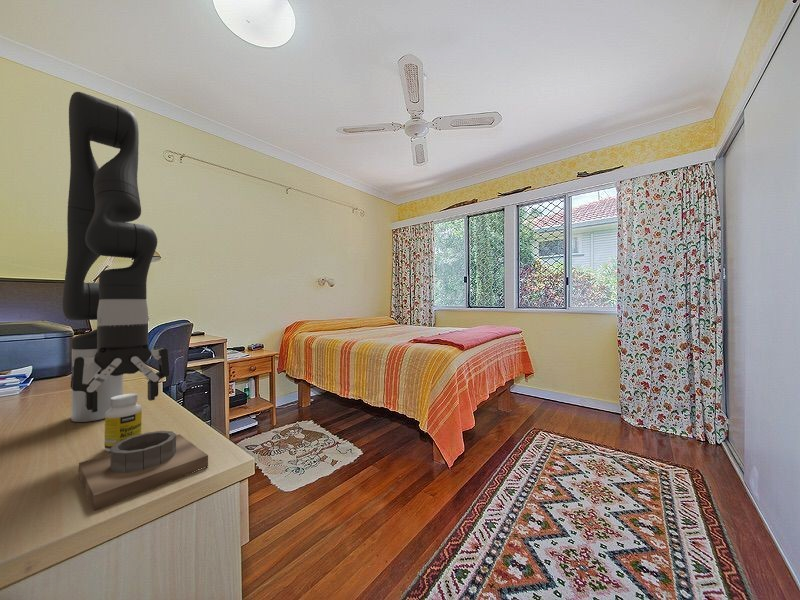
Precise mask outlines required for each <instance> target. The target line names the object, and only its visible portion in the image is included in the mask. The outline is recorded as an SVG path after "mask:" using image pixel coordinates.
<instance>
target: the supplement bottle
mask: <svg viewBox="0 0 800 600" xmlns="http://www.w3.org/2000/svg"><path fill="white" fill-rule="evenodd" d="M137 402H138V394H137V393H123V395H118V396H114V397H112V398H111V399H110V406H112V408H111V409H109V410H108V411H107V412H106V413H105V418H104V451H106V452H110V448H111V447H113V446H114V445H115V444H116V443H117V442H120V441H122V440H124V439H127V438H129V437H132V436H136V435H139V434H142V418H143V417H142V415H143V412H142V411H143V410H142V406H141V405H140V404H137Z"/></svg>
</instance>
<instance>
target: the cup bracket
mask: <svg viewBox="0 0 800 600" xmlns="http://www.w3.org/2000/svg"><path fill="white" fill-rule="evenodd" d="M206 466H208V467H209V454H207V453H206V452H205V451H204V450H202V449H200V448H199V447H197V445H195V444H194V443H192V442H191V441H189V440H188V439H187V438H186V437H184V436H183V435H181V434H177V433H175V432H174V431H172V430H171V431H170V430H168V431H167V430H158V431H157V430H156V431H155V430H154V431H148V432H144V433H143V432H142V433H141V434H139V435H136V436H132V437H129V438H127V439H124V440H122V441H120V442H117V443H116V444H115V445H114V446H113V447H111V448H110V453H109V454H106V455H102V456H100V457H95V458H92V459H88V460H85V461H82V462H79V463H78V478H79V479H80V483H82V486H83V488H84V491H85V493H86V495H87V497H88V500H89V502H90V505H91V507H92V509H93V511H96V510H99V509H102V508H105V507H107V506H109V505H113V504H115V503H118V502H120V501H122V500H126V499H127V498H130V497H133V496H135V495H138V494H141V493H144V492H146V491H149V490H152V489H154V488H157V487H159V486H162V485H165V484H168V483H170V482H173V481H175V480H177V479H178V480H179V479H180V478H183V477H185V475H186V476H188V475H190V473H191V474H193V473H192V472H194V471H196V470H198V469H201V468H203V467H206ZM201 470H202V469H201ZM196 472H197V471H196ZM194 473H195V472H194ZM187 474H188V475H187Z"/></svg>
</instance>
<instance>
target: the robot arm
mask: <svg viewBox="0 0 800 600" xmlns="http://www.w3.org/2000/svg"><path fill="white" fill-rule="evenodd" d="M68 129H69V130H68V132H69V134H68V135H69V155H70V156H69V157H70V158H69V159H70V163H69V164H70V169H69V170H70V171H69V172H70V174H69V187H68V199H67V200H68V201H67V215H66V216H67V218H66V219H67V221H66V223H67V224H66V225H67V229H66V231H67V256H66V266H65V267H66V268H65V275H64V276H65V277H64V284H63V292H62V293H63V294H62V311H63V315H64V317H65V318H66V319H67V320H69V321H96V320H97V321H96V323H97V324H96V327H97V328H96V329H93V330H91V331H89V332H85V333H82V334H79V335H76V336H74V337H73V338H72V339H71V374H70V375H71V378H70V390H71V405H70V406H71V412H70V413H71V414H70V415H71V418H70V420H71V421H72V422H75V423H85V422H93V421H98V420H103V419H104V420H105V413H106V412H107V411H108V410H109V409H111V408H112V406H110V399H111V398H112V397H114V396H118V395H123V394H124V375H125V374H127V375H131V374H132V375H133V374H136V373H137V372H140V373H141V374H142V375H144V377H146V378H147V379H148V381H147V399H148V401H155V400H156V398H157V397H158V396H159V381H160V380H161V379H163V378H167V377H169V375H170V364H169V354H168V353H169V351H168V349H167V348H163V347H160V348H157V349H152V350H150V347H149V321H150V318H149V317H150V316H149V308H148V304H147V280H148V278H147V277H148V274H149V271H150V268H151V267H150V266H151V263H152V261H153V257H154V255H155V252H156V249H157V245H158V237H157V235H156V233H155V231H154V230H153V229H152V228H151V227H150V226H148V225H145V224H139V223H132V222H133V221H136V220H138V219H139V218H140V217H141V215H142V205H141V198H140V192H139V185H138V169H139V167H138V166H139V145H140V144H139V143H140V142H139V137H140V136H139V134H140V133H139V132H140V131H139V123H138V120H137V118H136V115H135V114H134V112H132V111H131V110H129V109H127V108H125V107H122V106H120V105H118V104H115V103H113V102H109V101H106V100H103V99H101V98H98V97H96V96H94V95H91V94H87V93H85V92H82V91H74V92H73V93H72V94H71V97H70V98H69V103H68ZM91 142H94V143H97V144H101V145H103V146H108V147H111V148H114V149H119V150H118V151H119V152H118V153H117V154H116V155H114V156H113V158H111V159H110V160H107V162H105V163H104V164H102V165H101V166H100V168H99V165H98V164H97V161H96V160H95V157H94V155H93V151H92V150H93V149H92V146H91ZM101 256H103V257H112V258H113V257H114V258H123V259H133V261H132V263H131V265H129V266H127V267H119V268H109V269H105V270H104V269H103V271H101V272H100V273H99V275H98V282H85V280H86V277H87V274H88V272H89V271H90V269H91V267H92V266H93V264H95V262H96V261H97V260H98V259H99V258H100V257H101ZM152 356H153V358H154V360H157V363H158V364H157V365H158V372H157V371H156V373H155V372H154V371H153V370H152V369H151V368H150V367H149V366H148V365H147V364H146V363H147V362H148V360H149V359H150V358H151V357H152Z"/></svg>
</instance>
